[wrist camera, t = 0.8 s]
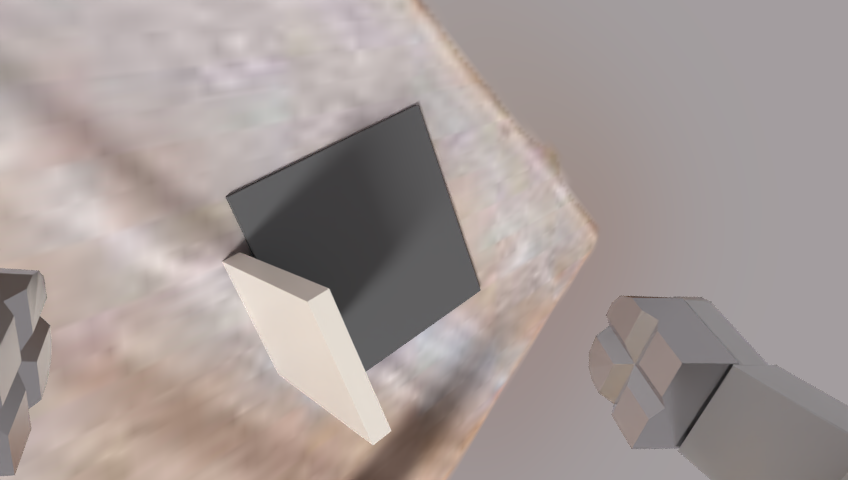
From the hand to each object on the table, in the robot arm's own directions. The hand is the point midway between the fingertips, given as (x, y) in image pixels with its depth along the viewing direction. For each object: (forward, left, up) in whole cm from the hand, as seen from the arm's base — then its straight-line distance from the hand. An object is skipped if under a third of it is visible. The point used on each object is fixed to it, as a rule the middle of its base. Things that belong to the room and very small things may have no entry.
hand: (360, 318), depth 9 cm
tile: (+14, +7, -36) cm, 40 cm away
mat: (+14, +17, -36) cm, 43 cm away
